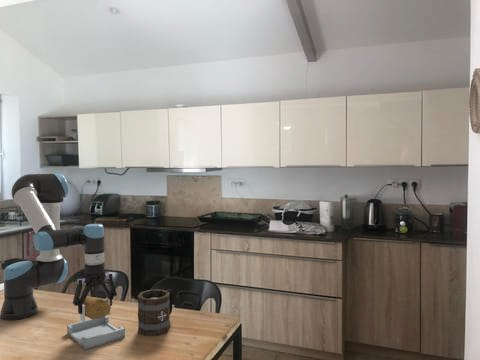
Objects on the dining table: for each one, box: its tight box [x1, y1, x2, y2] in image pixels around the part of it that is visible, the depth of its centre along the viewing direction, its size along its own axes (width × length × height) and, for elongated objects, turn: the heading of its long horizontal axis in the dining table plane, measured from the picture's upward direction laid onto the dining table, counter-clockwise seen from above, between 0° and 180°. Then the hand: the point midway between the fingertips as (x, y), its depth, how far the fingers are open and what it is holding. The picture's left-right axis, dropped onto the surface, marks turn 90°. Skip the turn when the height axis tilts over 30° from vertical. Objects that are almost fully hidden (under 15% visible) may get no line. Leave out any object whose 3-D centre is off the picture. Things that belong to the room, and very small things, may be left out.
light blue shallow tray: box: [66, 315, 126, 351], centre depth 158 cm, size 19×16×4 cm
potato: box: [83, 296, 112, 319], centre depth 158 cm, size 10×14×8 cm
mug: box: [137, 288, 174, 337], centre depth 166 cm, size 20×14×15 cm
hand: (95, 317), depth 158 cm, fingers closed on potato, 10 cm apart
